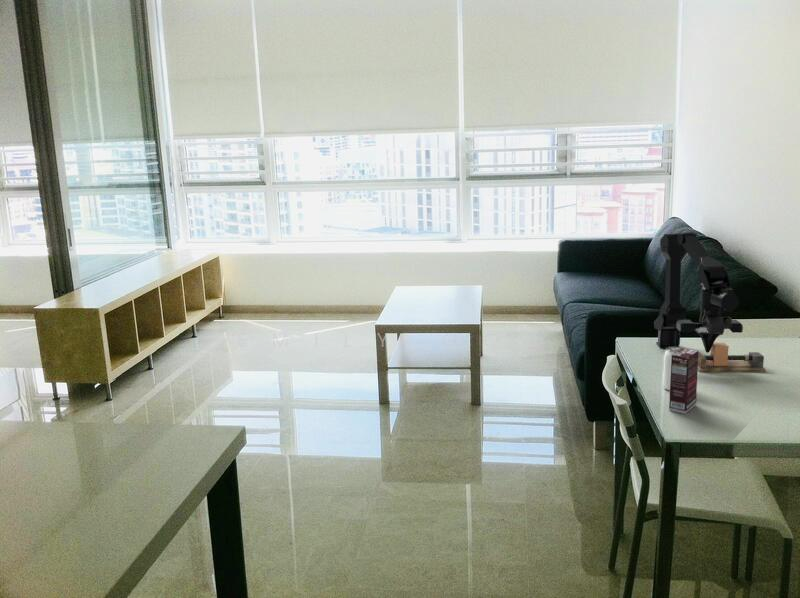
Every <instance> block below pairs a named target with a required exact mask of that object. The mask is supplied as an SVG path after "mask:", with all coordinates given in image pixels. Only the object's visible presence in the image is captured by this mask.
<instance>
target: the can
mask: <svg viewBox="0 0 800 598" xmlns="http://www.w3.org/2000/svg"><path fill="white" fill-rule="evenodd" d="M682 348H683V347H681V346H679V347H668V348H665V349H666V350H665V352H664V359H663V376H662V388H663V389H664V388H665V390H666V391H668V390H669V392H670V381H671V360H672V355H673V354H674V353H676V352H677V351H679V350H680V349H682Z"/></svg>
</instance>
